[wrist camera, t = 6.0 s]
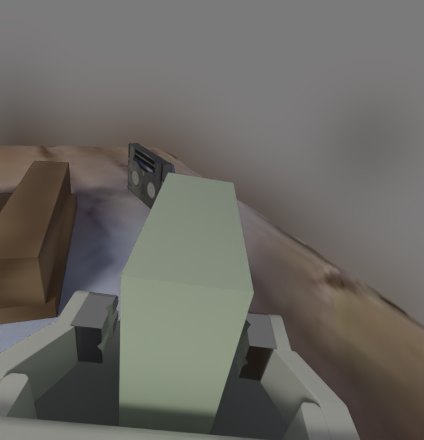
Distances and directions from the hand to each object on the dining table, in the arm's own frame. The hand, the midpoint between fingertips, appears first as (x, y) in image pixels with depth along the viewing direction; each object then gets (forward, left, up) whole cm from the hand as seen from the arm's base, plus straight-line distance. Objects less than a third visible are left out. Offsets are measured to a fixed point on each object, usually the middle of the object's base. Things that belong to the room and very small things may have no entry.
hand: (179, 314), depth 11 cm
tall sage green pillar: (0, -1, -6) cm, 6 cm away
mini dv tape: (-18, +17, -7) cm, 25 cm away
